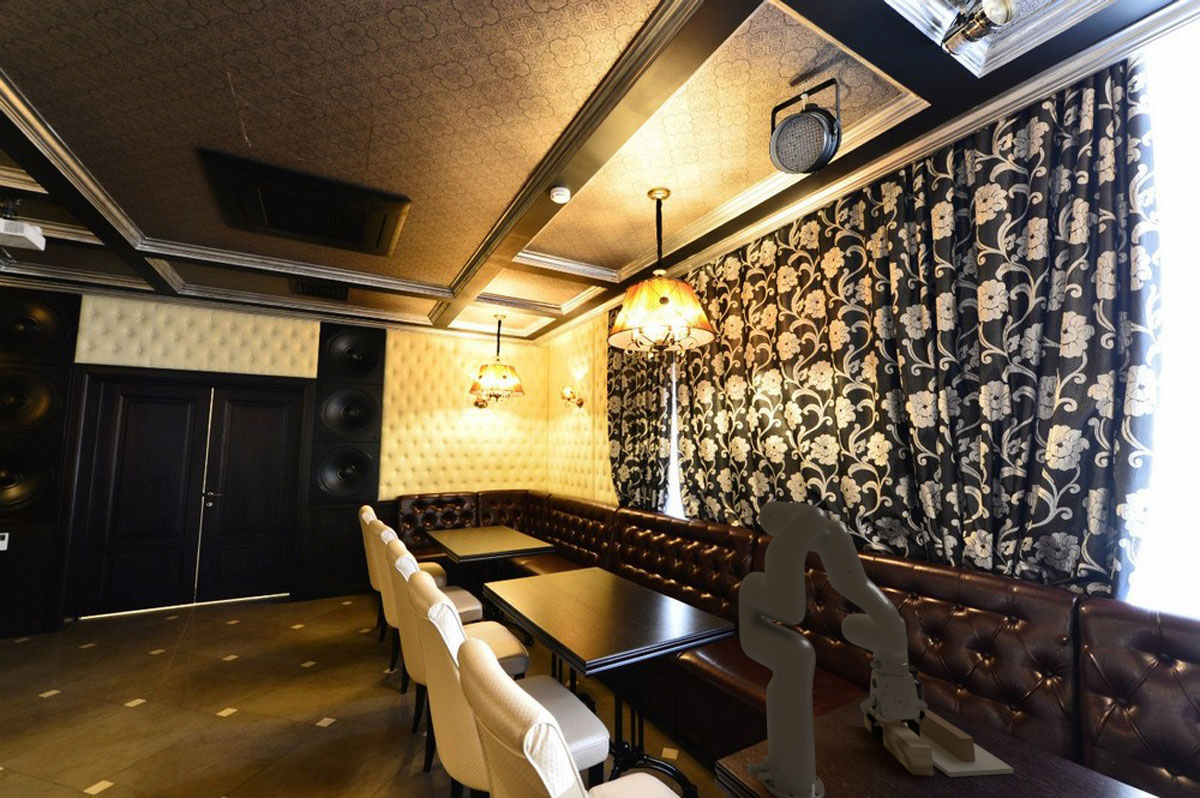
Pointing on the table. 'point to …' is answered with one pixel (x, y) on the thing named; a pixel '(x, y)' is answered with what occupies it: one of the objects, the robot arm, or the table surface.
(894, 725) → the birch beam
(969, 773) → the board
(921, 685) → the supplement bottle
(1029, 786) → the table surface
